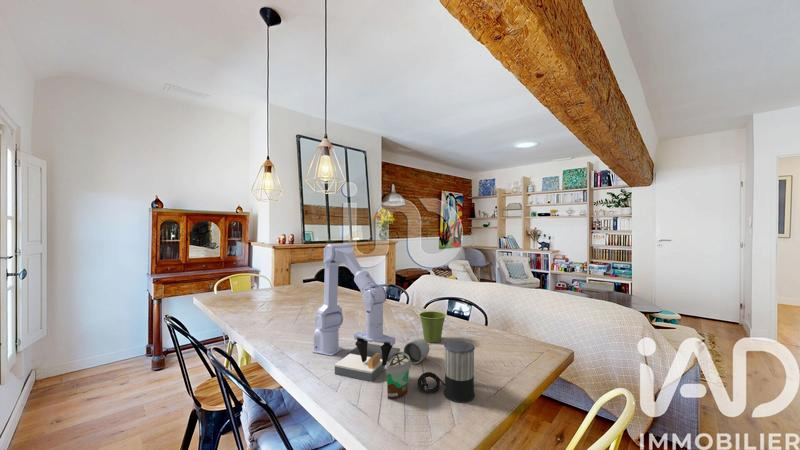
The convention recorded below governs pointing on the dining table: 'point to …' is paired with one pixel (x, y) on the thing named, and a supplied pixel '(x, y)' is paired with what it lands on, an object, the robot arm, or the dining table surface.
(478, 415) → the dining table surface
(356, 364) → the lid
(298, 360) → the dining table surface
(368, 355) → the mat
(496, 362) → the dining table surface
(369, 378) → the dark grey tray
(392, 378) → the food container
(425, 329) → the plant pot
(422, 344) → the ceramic mug
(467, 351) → the milk frother
